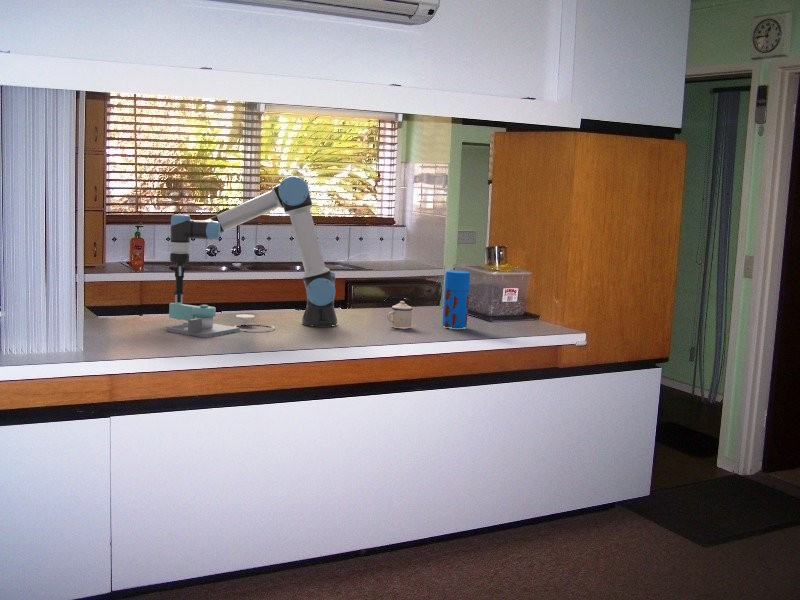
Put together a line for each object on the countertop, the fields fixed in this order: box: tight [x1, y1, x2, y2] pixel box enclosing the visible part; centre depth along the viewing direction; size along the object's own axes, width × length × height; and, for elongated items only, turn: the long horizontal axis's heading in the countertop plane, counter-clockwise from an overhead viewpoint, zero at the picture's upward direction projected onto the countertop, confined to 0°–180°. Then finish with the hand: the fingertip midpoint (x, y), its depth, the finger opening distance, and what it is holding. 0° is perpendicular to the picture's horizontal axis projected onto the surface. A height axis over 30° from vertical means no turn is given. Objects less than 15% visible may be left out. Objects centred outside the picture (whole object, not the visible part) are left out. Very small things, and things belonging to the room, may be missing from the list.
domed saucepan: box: [168, 302, 217, 322], centre depth 342 cm, size 22×9×7 cm, turn 62°
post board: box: [166, 316, 241, 339], centre depth 338 cm, size 20×23×6 cm
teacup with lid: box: [386, 300, 413, 327], centre depth 373 cm, size 12×9×12 cm
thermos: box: [442, 270, 471, 328], centre depth 380 cm, size 11×11×25 cm
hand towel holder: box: [233, 313, 276, 333], centre depth 353 cm, size 17×4×21 cm
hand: (178, 309), depth 352 cm, fingers closed
